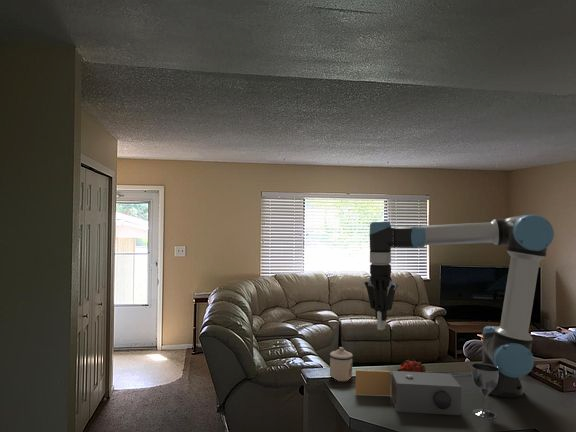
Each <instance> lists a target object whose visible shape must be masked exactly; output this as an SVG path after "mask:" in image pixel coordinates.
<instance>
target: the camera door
mask: <svg viewBox="0 0 576 432" xmlns="http://www.w3.org/2000/svg"><path fill="white" fill-rule="evenodd" d="M391 373H392V371H390V370H372V369H370V370H369V369H366V370H365V369H355V387H354V388H355V391H354V393H355V395H370V396H391Z"/></svg>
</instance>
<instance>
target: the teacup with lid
mask: <svg viewBox="0 0 576 432" xmlns="http://www.w3.org/2000/svg"><path fill="white" fill-rule="evenodd" d="M353 358H354V355H353V353H352V352H349V351H347V350H345V348H344V347H342V346H339V347H338V349H336V350H332V351H331V352H330V353H329V377H330V376H331V377H333V378H334V379H336V380H337V382H348V380H349V379H350V378H351V376H352V377H353ZM336 380H335V381H336ZM349 381H350V380H349Z"/></svg>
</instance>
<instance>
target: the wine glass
mask: <svg viewBox="0 0 576 432" xmlns="http://www.w3.org/2000/svg"><path fill="white" fill-rule="evenodd" d="M471 378H472V382H473V383H474V385H475V387H476V388H477V389H478V391H479V392H480V394H481V395H482V405H483V406H482V408H476V409H473V410H472V414H473V415H474V416H476V417H478V418H480V419H487V420H493V419H492V418H495V417H496V416H497V414H496V413H495V412H493V411H490V410H487V399H488V396H489V395H490V394H489V393H490V392H491V391H492V390H493V389H495V387H496V386H497V383H498V378H499V368H498V367H496V366H494V365H490V364H485V363H483V362H477V363H476V362H475V363H473V364H471ZM497 417H498V416H497ZM497 417H496V418H497ZM496 418H495V419H496Z"/></svg>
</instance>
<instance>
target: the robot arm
mask: <svg viewBox="0 0 576 432" xmlns="http://www.w3.org/2000/svg"><path fill="white" fill-rule="evenodd" d="M554 238H555V231H554V227H553V225H552V224H551V222H550V221H549V220H548V219H547V218H545V217H543V216H541V215H538V214H533V213H531V214H530V213H526V214H519V215H515V216H511V217H505V218H495V219H492V220H491V221H490V222H489V221H488V222H471V223H449V224H432V225H431V224H430V225H429V224H428V225H427V224H426V225H410V226H409V225H408V226H407V225H406V226H392V223H391V222H390V221H372V222H371V223H370V224H369V263H370V265H369V275H370V277H369V280H368V281H365V282H364V285H365V288H366V290H367V297H368V299H369V300H368V301H369V306H370V308H371V309H374V311H375V320H376V322H377V323H376V325H377V330H379V331H383V330H385V329H386V321H387V320H388V318H387V317H388V316H387V315H388V313H387V312H388V311H391V310H392V308H393V304H394V299H395V293H396V290H397V288H398V284H397V283H394V282H393V280H392V277H391V275H392V265H391V263H392V251H391V249H392V248H395V249H396V248H411V249H413V248H414V249H417V248H418V249H419V248H424V247H425V246H435V245H436V246H439V245H441V246H442V245H465V244H485V243H486V244H490V243H491V244H493V245H495V246H507V247H506V252H507V254H508V255H509V257H510V259H509V260H510V261H509V267H508V273H507V281H506V285H505V291H504V300H503V306H502V312H501V319H500V325H499V326H496V325H495V326H492V325H486V326H485V327H483V330H482V335H481V336H482V363H485V364H490V365H494V366H496V367H498V368H499V378H498V383H497V386H496V387H495V389H493V390H492V391H491V392H490V393H489V394H488V395H491V396H495V397H500V398H507V399H511V398H515V399H516V398H520V397H522V396H523V393H524V387H523V383H522V381H521V379H520V378H522V377H526V375H528V374H529V373H530V372H531V371H532V369H533V367H534V365H535V364H534V363H535V360H534V356H533V353H532V346H533V340H534V339H533V337H532V336H531V334H530V333H529V331H530V326H531V325H530V324H531V318H532V317H531V316H532V312H533V307H534V306H533V305H534V299H535V294H536V293H535V292H536V286H537V279H538V275H539V266H540V262H542V261H543V260H545V259H546V256H547V252H548V251H547V250H548V247H549V246H550V245H551V244H552V242H553V240H554Z"/></svg>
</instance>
